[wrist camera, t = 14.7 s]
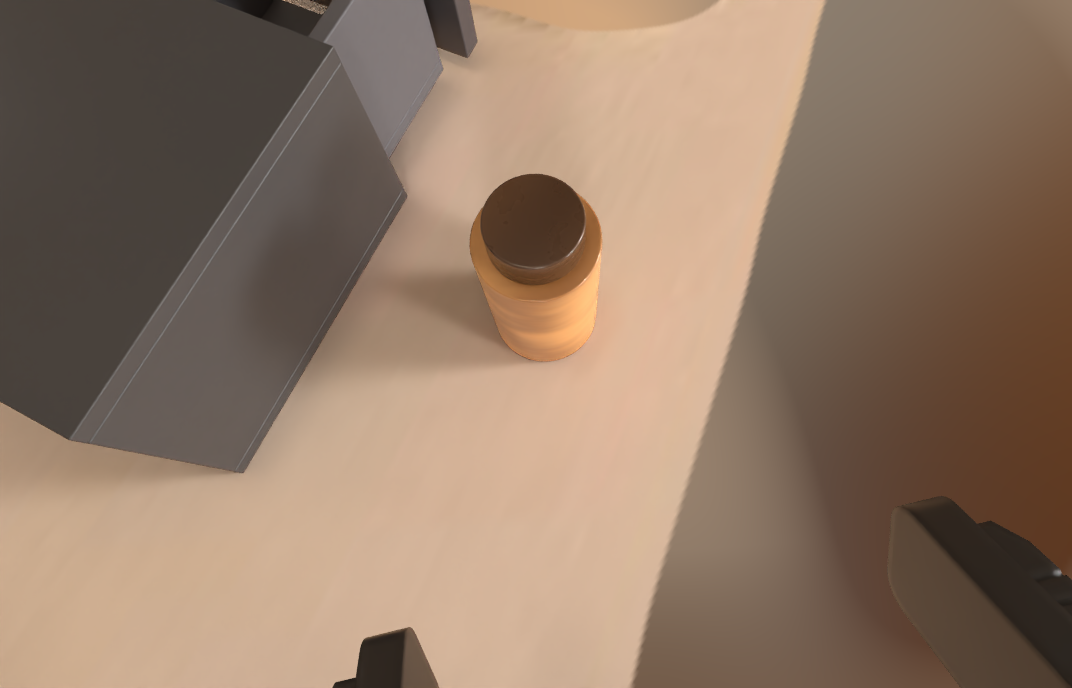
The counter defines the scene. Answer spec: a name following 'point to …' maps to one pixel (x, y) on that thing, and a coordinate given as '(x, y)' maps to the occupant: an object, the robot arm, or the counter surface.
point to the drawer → (381, 48)
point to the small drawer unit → (175, 219)
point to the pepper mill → (539, 265)
